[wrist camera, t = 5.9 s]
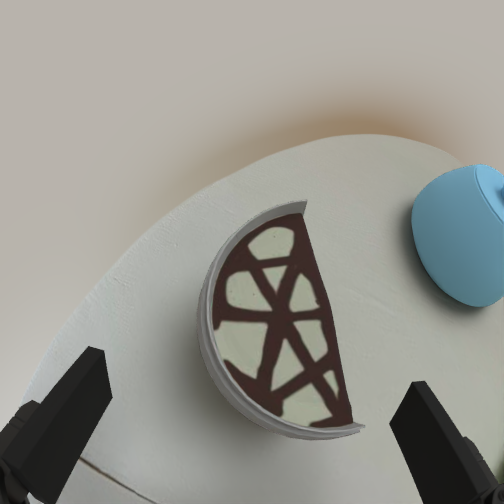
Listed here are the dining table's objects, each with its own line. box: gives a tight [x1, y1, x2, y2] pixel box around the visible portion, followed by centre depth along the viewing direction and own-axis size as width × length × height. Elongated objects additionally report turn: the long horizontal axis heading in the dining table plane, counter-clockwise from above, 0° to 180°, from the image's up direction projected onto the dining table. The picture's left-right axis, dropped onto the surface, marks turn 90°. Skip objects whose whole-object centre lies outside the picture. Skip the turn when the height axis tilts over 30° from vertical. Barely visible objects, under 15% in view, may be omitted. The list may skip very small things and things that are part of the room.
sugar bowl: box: [412, 164, 504, 307], centre depth 22 cm, size 15×15×12 cm
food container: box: [197, 200, 365, 440], centre depth 16 cm, size 12×6×10 cm, turn 9°
